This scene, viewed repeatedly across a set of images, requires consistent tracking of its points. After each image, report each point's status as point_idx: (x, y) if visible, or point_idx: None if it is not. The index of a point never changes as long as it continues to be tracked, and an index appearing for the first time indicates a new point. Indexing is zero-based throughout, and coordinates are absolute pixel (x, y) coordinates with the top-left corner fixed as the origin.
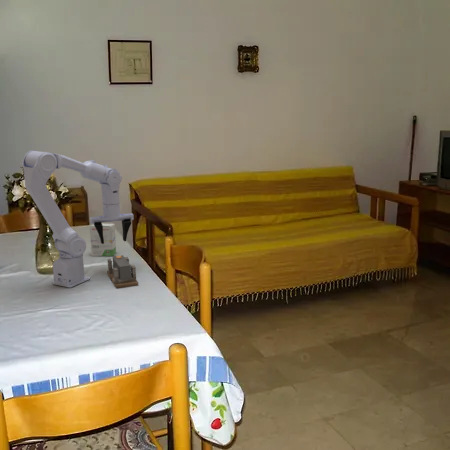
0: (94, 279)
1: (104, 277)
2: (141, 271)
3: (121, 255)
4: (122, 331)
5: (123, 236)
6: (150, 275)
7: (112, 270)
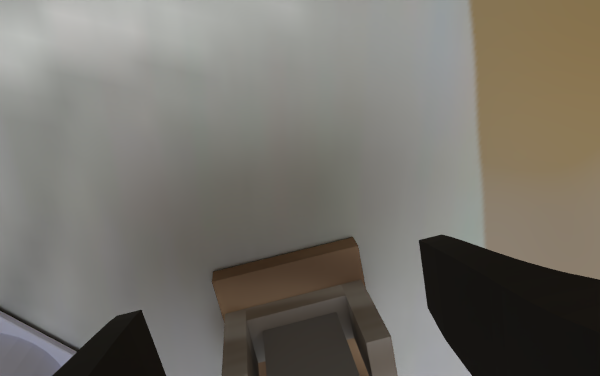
0: None
1: (202, 342)
2: None
3: None
4: None
5: (450, 299)
6: None
7: (257, 353)
